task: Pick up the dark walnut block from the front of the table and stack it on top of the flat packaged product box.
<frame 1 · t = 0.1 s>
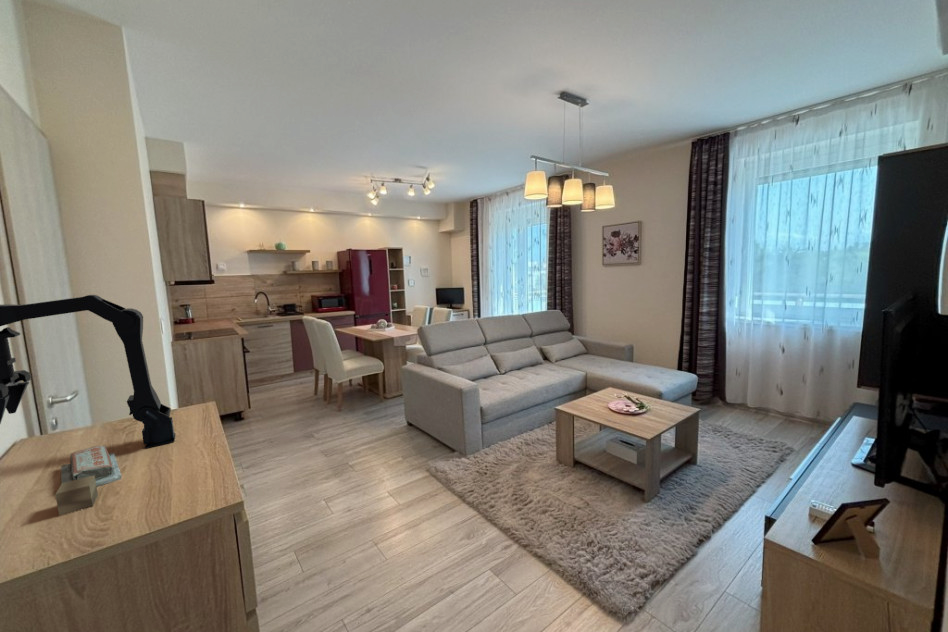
hand: (4, 419, 92), 15 cm above the dresser top, tool pointing down, fingers open, 9 cm apart
walnut block: (79, 505, 81), on the dresser top
packaged product: (91, 476, 94), on the dresser top
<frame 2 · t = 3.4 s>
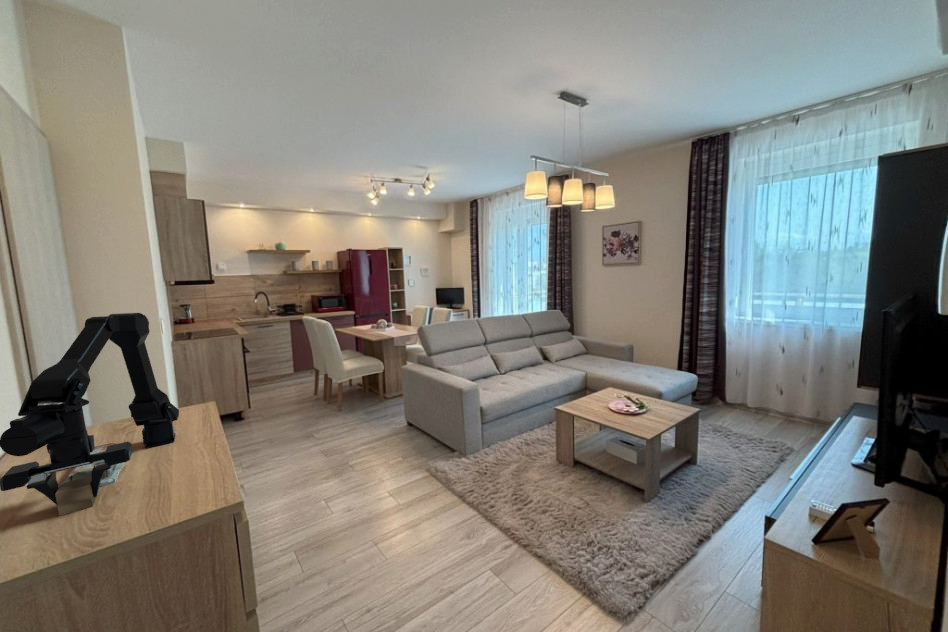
hand: (78, 500, 81), 1 cm above the dresser top, tool pointing down, fingers closed on walnut block, 5 cm apart
walnut block: (79, 505, 81), on the dresser top, touching gripper
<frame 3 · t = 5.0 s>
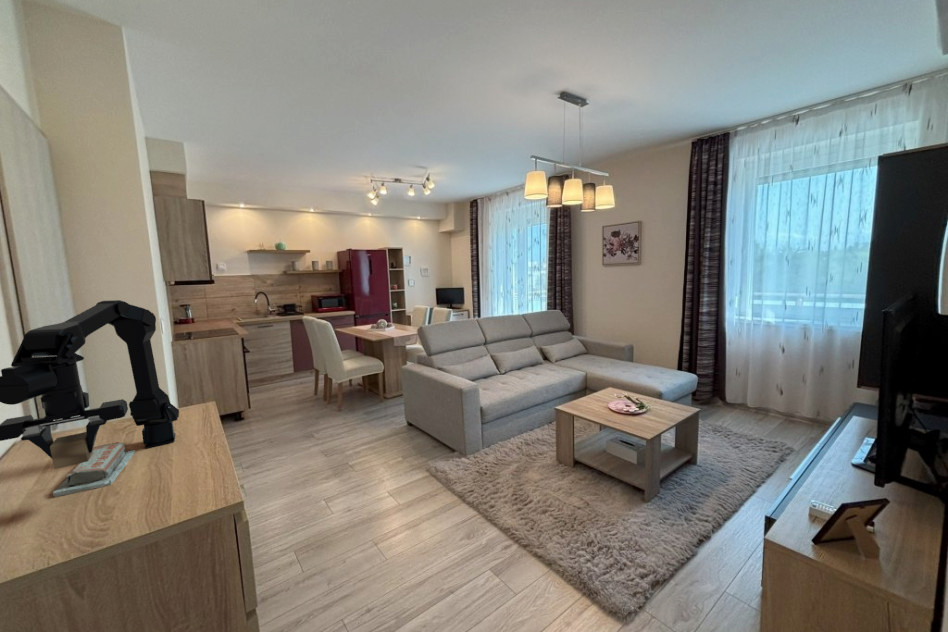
hand: (73, 455, 81), 11 cm above the dresser top, tool pointing down, fingers closed on walnut block, 5 cm apart
walnut block: (74, 460, 81), point 10 cm above the dresser top, touching gripper
when the fingers open (7 cm above the dresser top, at t = 6.8 s): walnut block drops 2 cm, point 4 cm above the dresser top.
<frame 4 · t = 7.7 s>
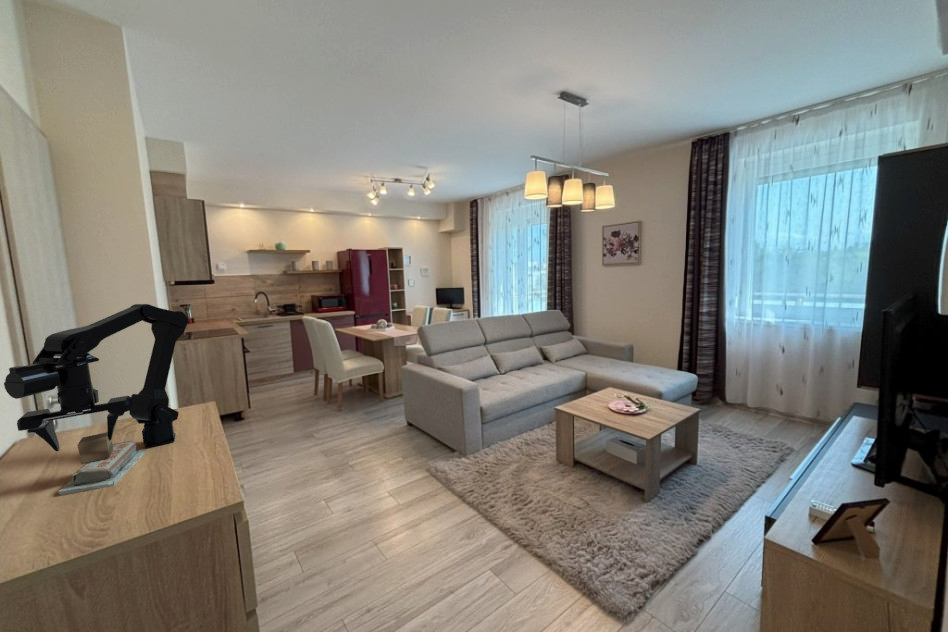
hand: (84, 444, 92), 8 cm above the dresser top, tool pointing down, fingers open, 9 cm apart
walnut block: (97, 456, 94), point 4 cm above the dresser top, touching gripper
packaged product: (107, 474, 95), on the dresser top
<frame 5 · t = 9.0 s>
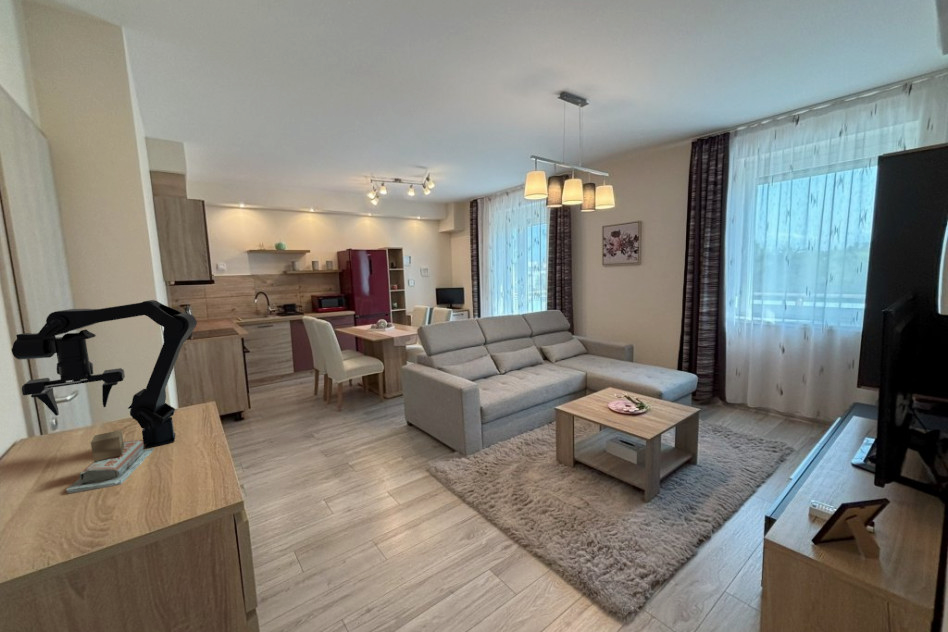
hand: (81, 410, 103), 12 cm above the dresser top, tool pointing down, fingers open, 9 cm apart
walnut block: (109, 454, 95), point 4 cm above the dresser top, touching packaged product
packaged product: (115, 472, 96), on the dresser top, touching walnut block
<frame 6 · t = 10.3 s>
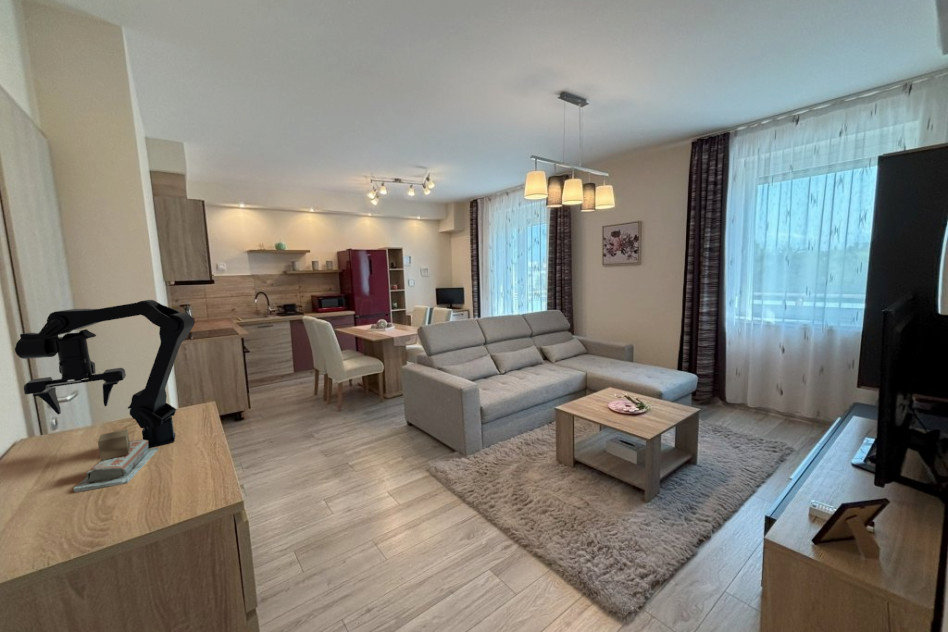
hand: (83, 409, 105), 12 cm above the dresser top, tool pointing down, fingers open, 9 cm apart
walnut block: (116, 453, 95), point 4 cm above the dresser top, touching packaged product
packaged product: (120, 471, 96), on the dresser top, touching walnut block
at the end: walnut block inside the target area on the packaged product (0.4 cm from its centre), point 5.0 cm above the packaged product's base; walnut block tilted 0°; the gripper is holding nothing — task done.
